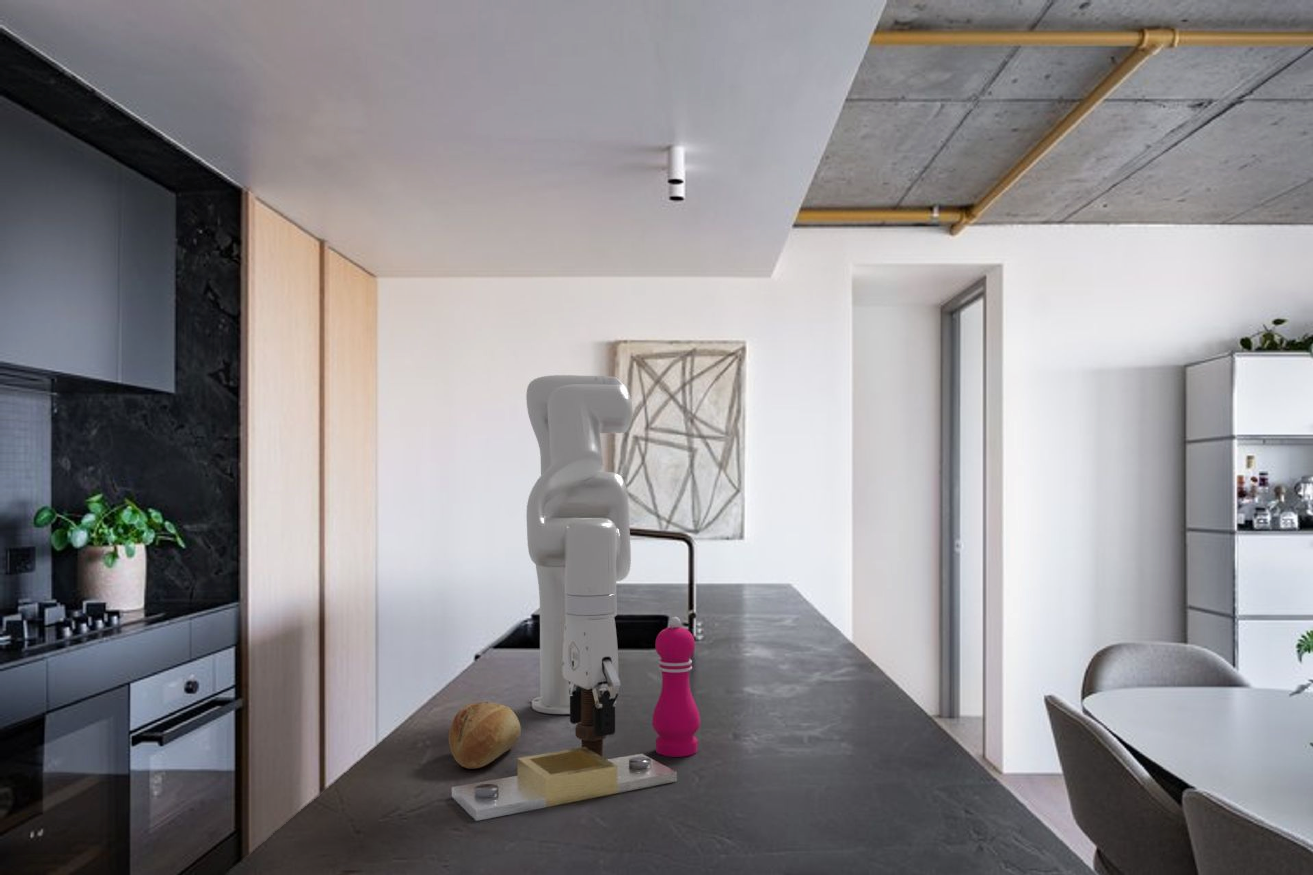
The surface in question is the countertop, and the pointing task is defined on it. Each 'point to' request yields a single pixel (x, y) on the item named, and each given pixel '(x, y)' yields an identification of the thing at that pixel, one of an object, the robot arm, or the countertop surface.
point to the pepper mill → (675, 693)
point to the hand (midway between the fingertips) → (592, 727)
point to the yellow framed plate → (560, 782)
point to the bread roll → (482, 733)
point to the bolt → (588, 722)
